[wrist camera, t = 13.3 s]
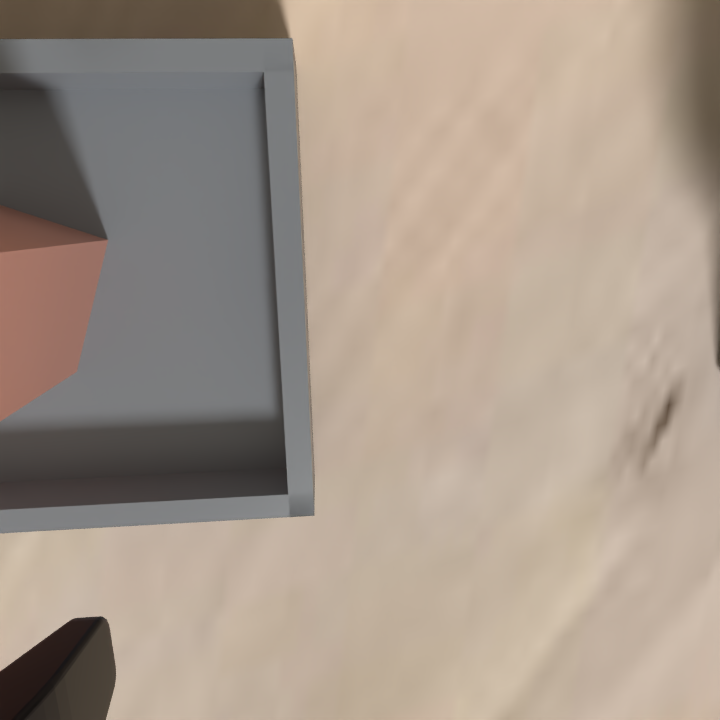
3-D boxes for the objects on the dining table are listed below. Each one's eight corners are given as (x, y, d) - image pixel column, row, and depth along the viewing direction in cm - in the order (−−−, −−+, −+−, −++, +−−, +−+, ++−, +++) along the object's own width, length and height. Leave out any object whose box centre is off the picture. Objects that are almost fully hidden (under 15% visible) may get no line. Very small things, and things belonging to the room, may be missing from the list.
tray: (296, 65, 18) (292, 38, 15) (314, 477, 21) (314, 515, 19) (-251, 68, 17) (-361, 39, 14) (-138, 501, 20) (-209, 544, 18)
